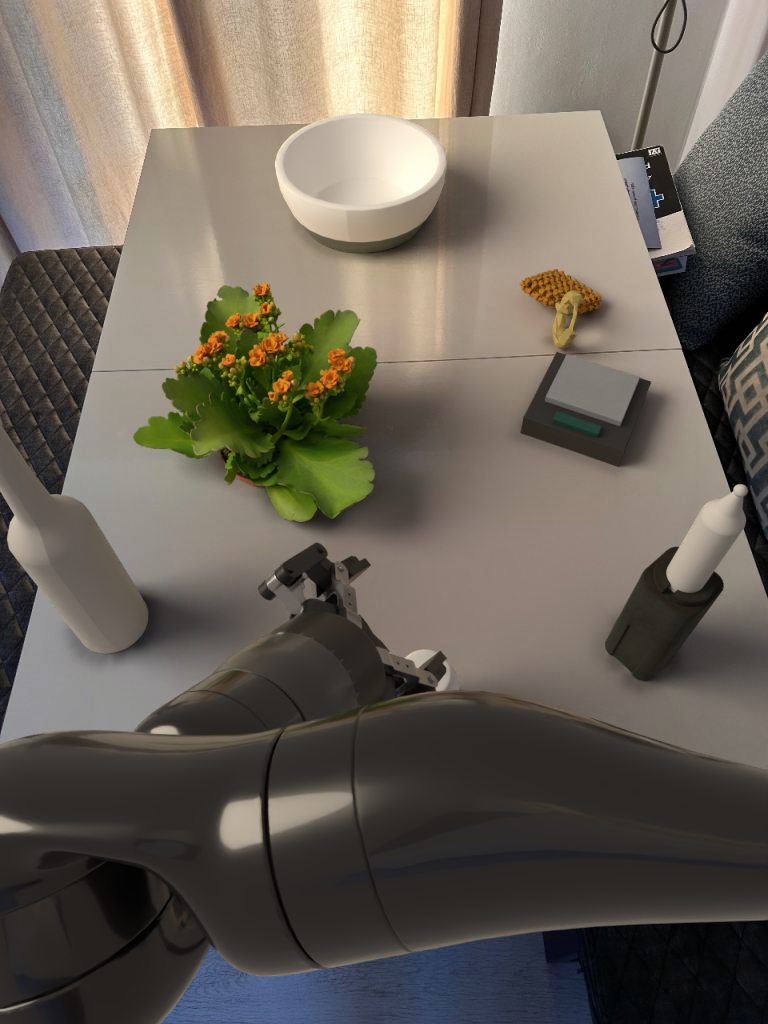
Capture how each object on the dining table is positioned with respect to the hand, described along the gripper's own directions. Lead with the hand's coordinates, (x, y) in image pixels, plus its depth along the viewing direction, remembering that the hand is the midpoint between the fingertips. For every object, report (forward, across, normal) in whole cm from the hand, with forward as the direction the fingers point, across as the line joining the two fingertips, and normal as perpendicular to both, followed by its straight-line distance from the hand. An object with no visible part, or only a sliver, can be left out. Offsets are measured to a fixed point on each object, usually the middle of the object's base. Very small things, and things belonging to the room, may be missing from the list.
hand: (396, 614), depth 55 cm
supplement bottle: (+9, -8, +9) cm, 15 cm away
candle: (+20, -16, -7) cm, 27 cm away
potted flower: (+23, +23, +11) cm, 34 cm away
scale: (+38, +4, -15) cm, 41 cm away
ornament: (+49, +15, -19) cm, 54 cm away
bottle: (+5, +16, +26) cm, 31 cm away
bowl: (+54, +46, -8) cm, 71 cm away
